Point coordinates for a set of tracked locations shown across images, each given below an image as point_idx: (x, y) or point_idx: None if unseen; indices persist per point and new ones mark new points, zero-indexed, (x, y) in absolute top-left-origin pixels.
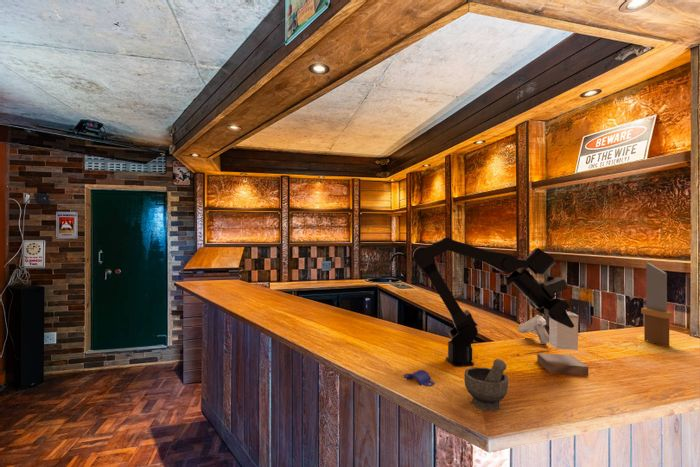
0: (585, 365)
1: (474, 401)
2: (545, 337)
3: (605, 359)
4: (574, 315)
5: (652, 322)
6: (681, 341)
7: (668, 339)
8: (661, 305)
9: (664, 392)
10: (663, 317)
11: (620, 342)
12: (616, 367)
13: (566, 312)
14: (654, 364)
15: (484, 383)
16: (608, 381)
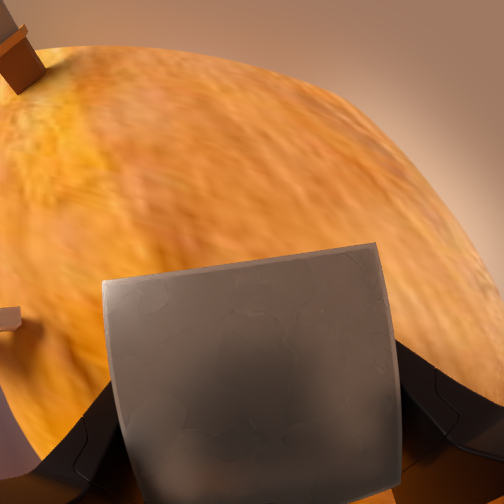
0: None
1: None
2: (8, 323)
3: (113, 177)
4: (386, 295)
5: (11, 60)
6: None
7: (40, 61)
8: (8, 26)
9: (347, 133)
10: (23, 36)
11: (14, 127)
12: (180, 167)
13: (491, 401)
14: (141, 89)
15: None
16: (328, 232)
